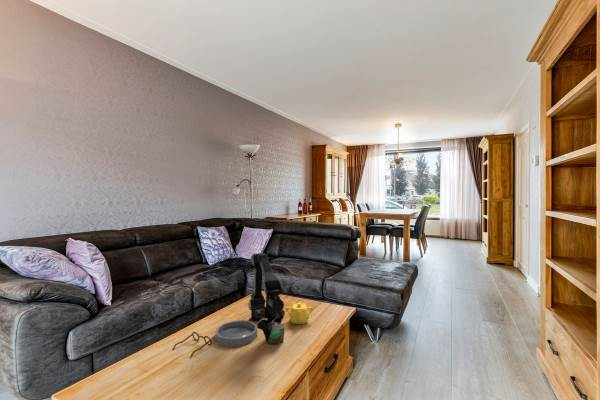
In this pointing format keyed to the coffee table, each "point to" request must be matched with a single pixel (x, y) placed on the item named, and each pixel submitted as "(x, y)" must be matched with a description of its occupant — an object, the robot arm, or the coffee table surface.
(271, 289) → the robot arm
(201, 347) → the glasses
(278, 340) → the food container
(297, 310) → the teapot
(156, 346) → the coffee table surface
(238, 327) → the bowl
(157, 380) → the coffee table surface
